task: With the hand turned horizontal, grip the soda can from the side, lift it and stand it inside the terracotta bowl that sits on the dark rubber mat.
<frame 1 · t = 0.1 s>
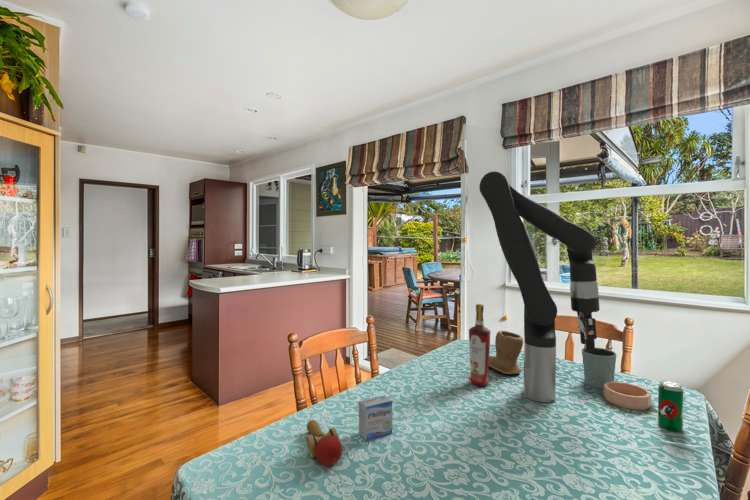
hand: (587, 347, 107), 17 cm above the table, tool pointing down, fingers open, 8 cm apart
bowl: (626, 401, 108), resting on mat
tan boot: (503, 369, 137), on the table
soda can: (670, 429, 93), on the table
mat: (626, 402, 108), on the table
medicine box: (375, 434, 91), on the table
liquor: (479, 384, 123), on the table
kendama: (320, 450, 84), on the table
grey-green tumbler: (598, 386, 121), on the table
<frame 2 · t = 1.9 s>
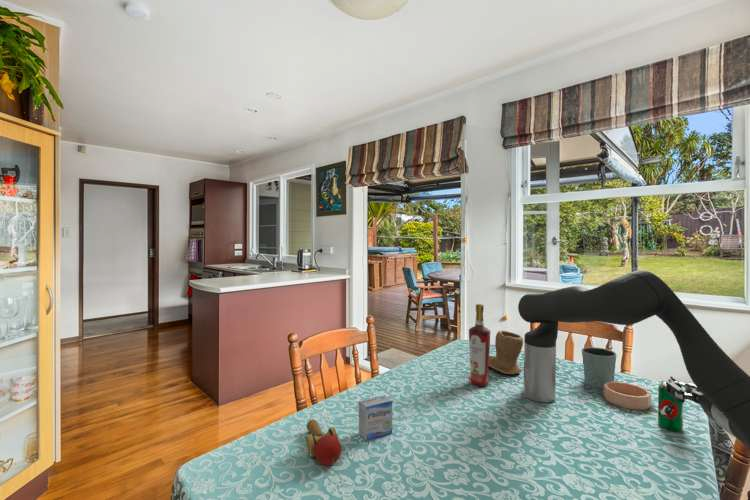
hand: (694, 383, 81), 17 cm above the table, tool horizontal, fingers open, 8 cm apart
nothing on the table moved.
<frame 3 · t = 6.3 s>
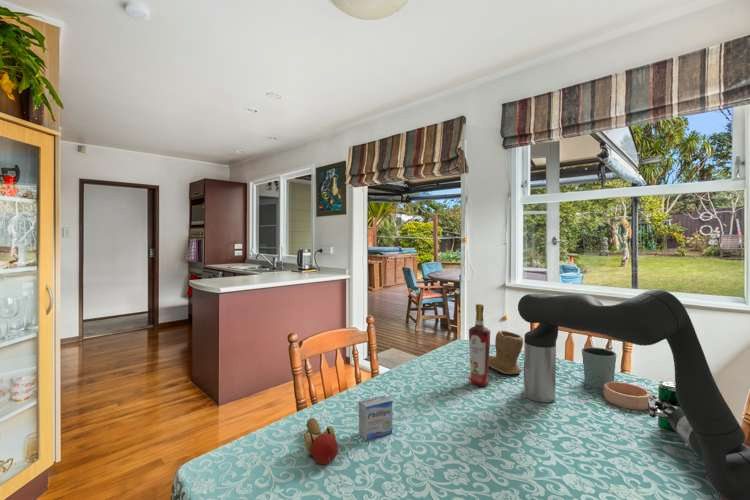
hand: (666, 399, 95), 7 cm above the table, tool horizontal, fingers closed on soda can, 5 cm apart
soda can: (670, 429, 93), on the table, touching gripper
when the fingers open (9 cm above the table, at t = 11.2 s): soda can drops 2 cm, resting on bowl.
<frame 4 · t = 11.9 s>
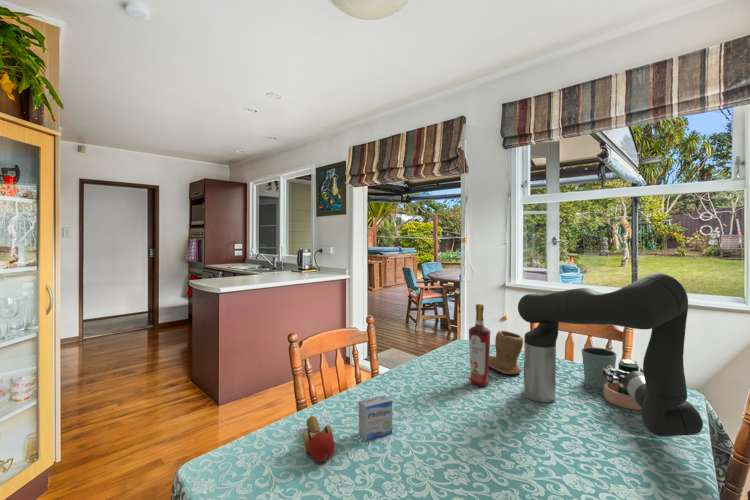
hand: (625, 369, 110), 10 cm above the table, tool horizontal, fingers open, 8 cm apart
soda can: (627, 400, 108), point 1 cm above the table, touching bowl
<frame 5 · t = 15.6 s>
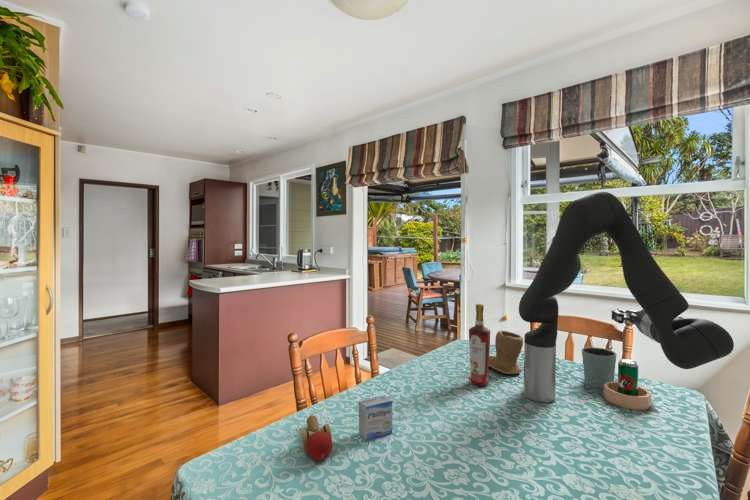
hand: (636, 312, 98), 30 cm above the table, tool horizontal, fingers open, 8 cm apart
at the end: soda can 0.4 cm from the bowl (horizontally); soda can tilted 0°; the gripper is holding nothing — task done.
